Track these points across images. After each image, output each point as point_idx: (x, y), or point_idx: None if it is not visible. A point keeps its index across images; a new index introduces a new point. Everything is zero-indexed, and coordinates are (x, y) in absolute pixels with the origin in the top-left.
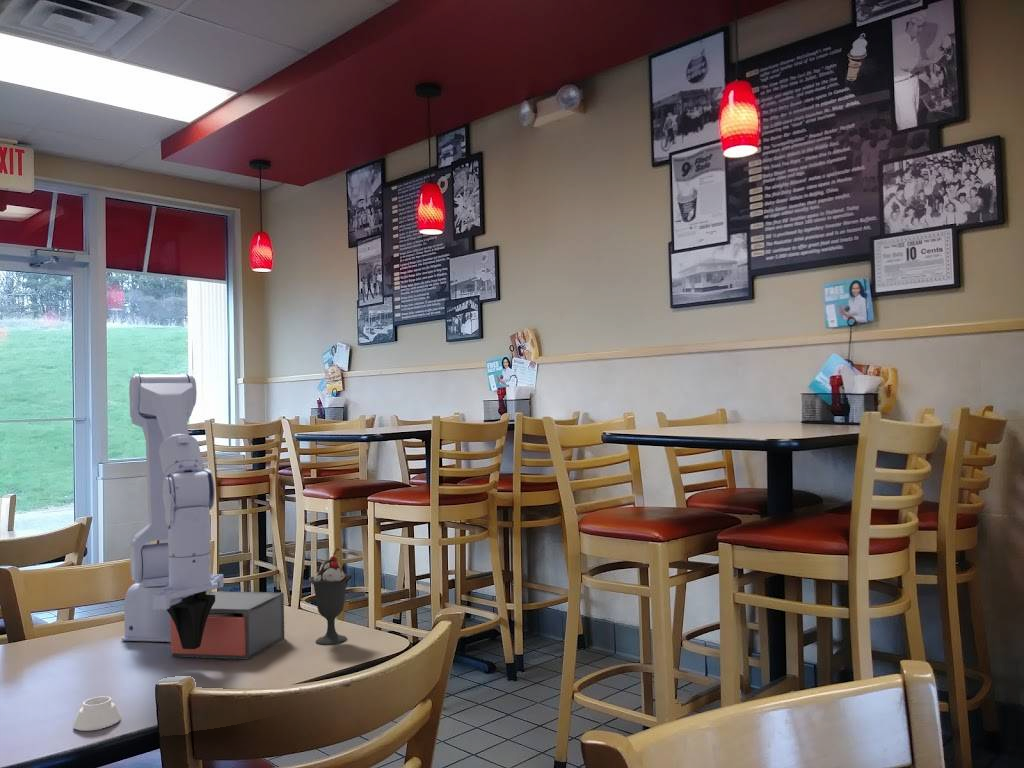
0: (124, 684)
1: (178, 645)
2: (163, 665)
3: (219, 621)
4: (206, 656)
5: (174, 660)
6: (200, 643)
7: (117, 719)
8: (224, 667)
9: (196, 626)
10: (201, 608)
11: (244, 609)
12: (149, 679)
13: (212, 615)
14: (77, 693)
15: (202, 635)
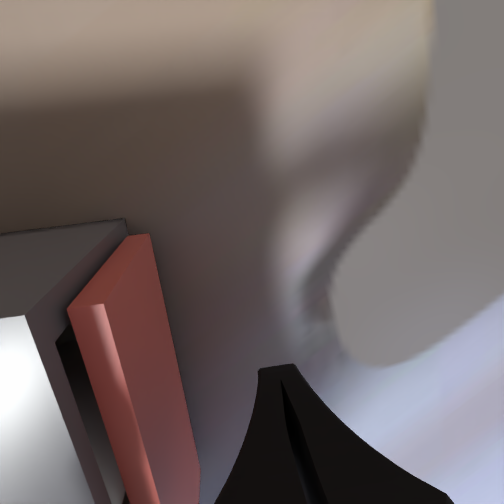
0: (417, 411)
1: (194, 473)
2: None
3: (143, 418)
4: None
5: (211, 436)
6: (263, 373)
7: None
8: (232, 247)
9: (336, 421)
10: (374, 495)
11: (36, 346)
12: (375, 383)
13: (109, 495)
14: (482, 457)
15: (260, 391)
